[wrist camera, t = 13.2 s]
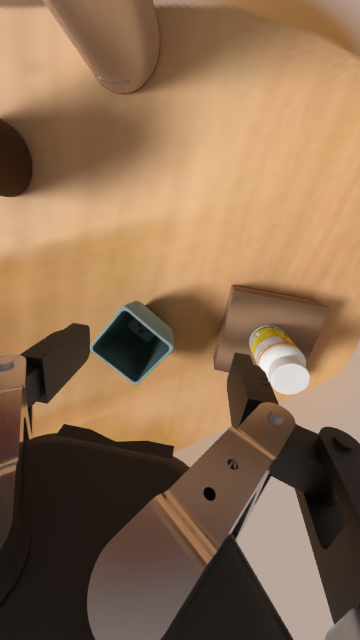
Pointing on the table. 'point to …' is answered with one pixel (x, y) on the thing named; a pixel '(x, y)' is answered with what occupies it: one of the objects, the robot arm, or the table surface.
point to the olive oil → (13, 162)
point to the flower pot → (134, 342)
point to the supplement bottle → (279, 359)
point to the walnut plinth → (266, 322)
